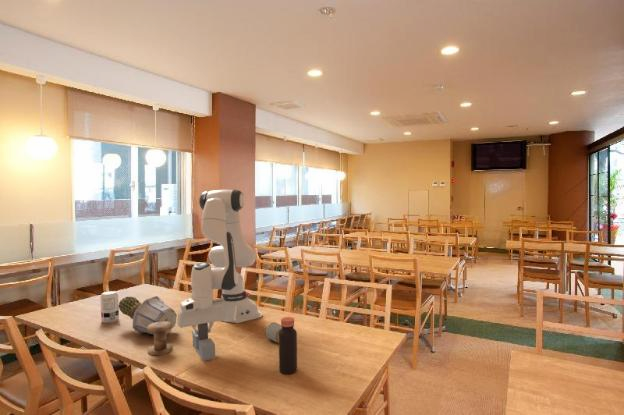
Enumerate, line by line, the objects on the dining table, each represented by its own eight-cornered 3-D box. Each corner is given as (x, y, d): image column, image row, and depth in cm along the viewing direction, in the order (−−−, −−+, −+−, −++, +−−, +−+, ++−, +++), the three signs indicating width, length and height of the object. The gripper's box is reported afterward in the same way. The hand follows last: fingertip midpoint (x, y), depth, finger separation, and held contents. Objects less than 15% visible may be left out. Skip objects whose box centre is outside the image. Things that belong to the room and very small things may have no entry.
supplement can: (97, 322, 200) (96, 294, 199) (111, 317, 207) (110, 290, 206) (109, 324, 197) (108, 295, 196) (122, 319, 204) (121, 291, 203)
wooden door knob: (170, 343, 171) (170, 319, 171) (174, 352, 163) (173, 326, 162) (146, 348, 166) (145, 323, 166) (149, 357, 158) (148, 331, 157)
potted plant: (183, 301, 187) (139, 281, 198) (155, 314, 171) (108, 291, 182) (179, 333, 191) (135, 311, 201) (151, 348, 174) (105, 324, 185)
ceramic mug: (276, 345, 168) (276, 328, 168) (265, 340, 174) (265, 324, 174) (294, 339, 176) (294, 323, 175) (283, 334, 182) (283, 318, 181)
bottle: (297, 366, 149) (296, 316, 148) (297, 374, 142) (296, 322, 141) (279, 366, 149) (279, 316, 148) (278, 375, 142) (278, 322, 141)
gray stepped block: (204, 342, 173) (203, 329, 173) (215, 358, 156) (214, 344, 156) (192, 344, 171) (192, 331, 170) (202, 361, 154) (202, 346, 154)
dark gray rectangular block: (206, 337, 165) (205, 321, 165) (208, 339, 162) (207, 323, 162) (197, 338, 164) (197, 322, 163) (199, 341, 161) (199, 325, 160)
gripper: (224, 296, 170) (224, 326, 171) (176, 303, 160) (176, 335, 161) (228, 299, 165) (228, 331, 165) (178, 307, 155) (179, 340, 155)
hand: (202, 333), depth 163 cm, fingers closed on dark gray rectangular block, 3 cm apart
